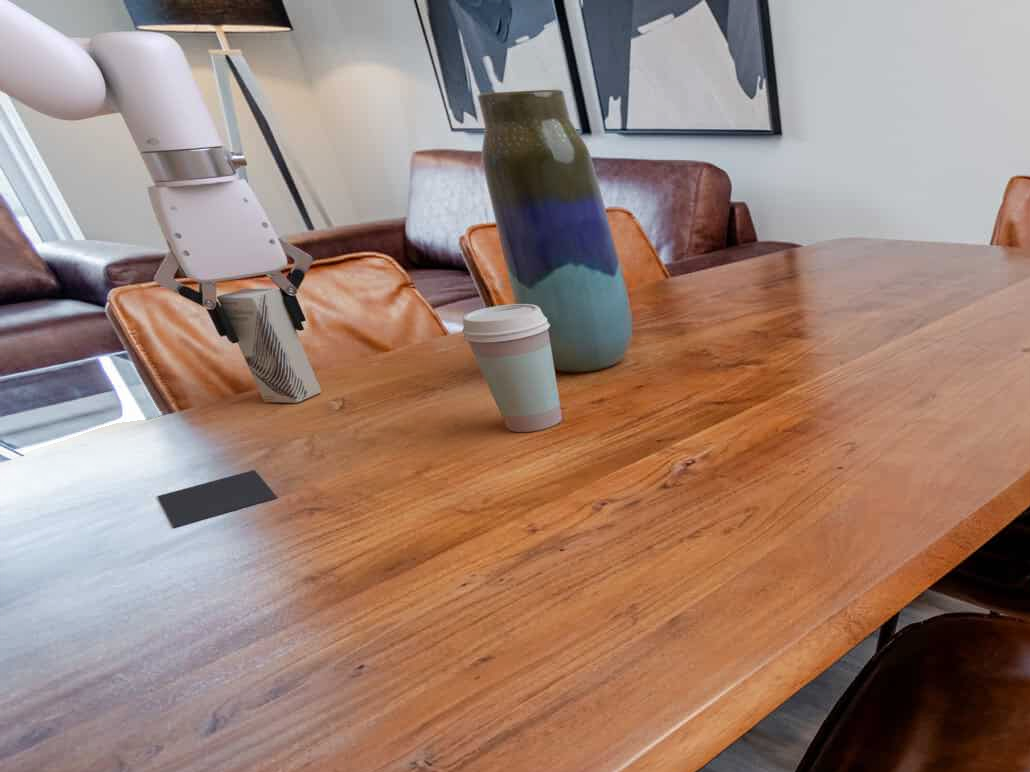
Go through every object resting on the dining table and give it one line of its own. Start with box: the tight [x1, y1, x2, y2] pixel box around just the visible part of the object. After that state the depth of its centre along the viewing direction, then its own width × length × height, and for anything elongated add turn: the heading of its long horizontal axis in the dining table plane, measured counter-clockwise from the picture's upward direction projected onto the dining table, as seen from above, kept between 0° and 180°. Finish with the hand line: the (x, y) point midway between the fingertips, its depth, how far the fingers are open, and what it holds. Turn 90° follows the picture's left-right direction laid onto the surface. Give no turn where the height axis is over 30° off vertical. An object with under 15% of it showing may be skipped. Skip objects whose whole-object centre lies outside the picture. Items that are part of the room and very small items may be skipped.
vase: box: [477, 89, 634, 373], centre depth 102 cm, size 14×14×31 cm
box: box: [216, 288, 322, 404], centre depth 100 cm, size 5×4×13 cm
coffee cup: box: [461, 303, 563, 433], centre depth 88 cm, size 9×8×12 cm
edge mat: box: [157, 469, 278, 529], centre depth 78 cm, size 8×10×1 cm
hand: (266, 333), depth 100 cm, fingers closed on box, 6 cm apart
